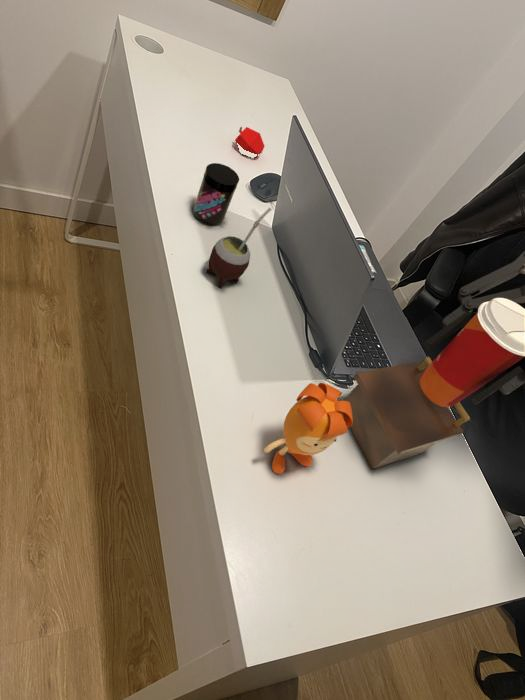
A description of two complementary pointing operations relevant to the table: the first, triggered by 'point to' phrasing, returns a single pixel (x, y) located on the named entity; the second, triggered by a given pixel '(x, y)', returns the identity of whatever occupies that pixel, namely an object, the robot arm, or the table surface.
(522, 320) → the coffee cup
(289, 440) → the toy figure
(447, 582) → the table surface
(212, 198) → the supplement container
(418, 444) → the box with handle
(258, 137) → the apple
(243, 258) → the mate gourd
